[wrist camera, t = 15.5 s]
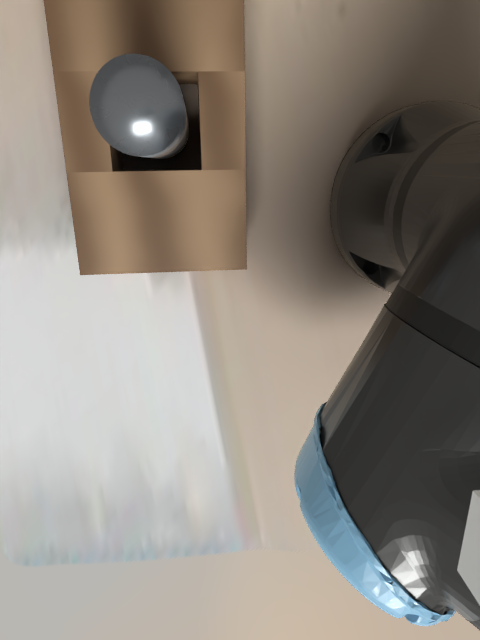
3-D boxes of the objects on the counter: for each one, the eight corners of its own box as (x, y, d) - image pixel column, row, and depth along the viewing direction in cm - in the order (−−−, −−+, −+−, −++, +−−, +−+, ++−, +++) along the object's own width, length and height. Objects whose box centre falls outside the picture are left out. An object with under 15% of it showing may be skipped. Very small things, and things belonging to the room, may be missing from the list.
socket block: (236, -29, 32) (243, -61, 27) (240, 255, 38) (246, 269, 34) (59, -32, 31) (34, -66, 26) (94, 260, 37) (80, 274, 33)
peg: (187, 96, 34) (181, 53, 21) (190, 158, 36) (186, 155, 22) (128, 95, 34) (83, 53, 21) (133, 159, 35) (94, 157, 22)
